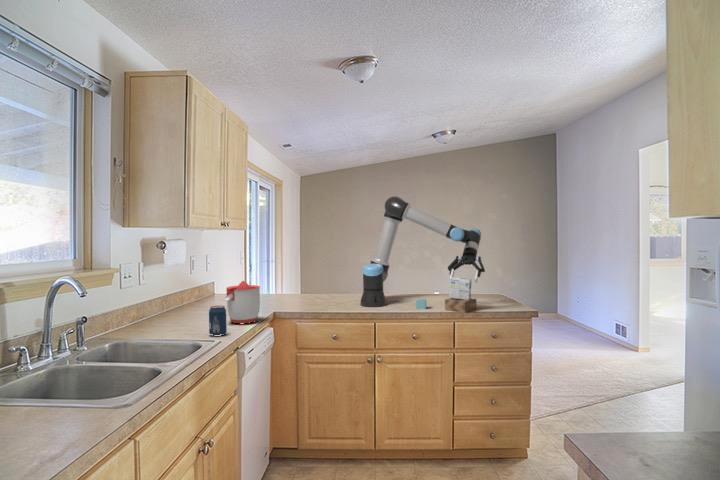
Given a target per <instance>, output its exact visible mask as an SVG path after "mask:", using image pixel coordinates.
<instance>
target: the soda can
mask: <svg viewBox="0 0 720 480" xmlns="http://www.w3.org/2000/svg"><path fill="white" fill-rule="evenodd" d="M227 329H228V328H227V309H226V308H225V305H213V306H210V308H209V310H208V332H209V335H210V334H213V335H220V334H225V333H226V334H227ZM226 334H225V335H226Z"/></svg>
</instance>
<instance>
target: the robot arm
mask: <svg viewBox="0 0 720 480" xmlns="http://www.w3.org/2000/svg"><path fill="white" fill-rule="evenodd" d="M383 218H384V223H383V226H382V230H381V234H380V237H379V241H378V245H377V248H376V251H375V254H374V258H371V259H370V263H367V264H365V265H363V267H362V281H363V282H362V283H363V285H362V288H363V291H362V295H361V299H360V303H359V304H360V306H361V305H362V307H367V308H368V307H369V308H370V307H371V308H379V307H384V306H387V298H386V296H385V293H384V282H386V280H387V279H388V276H389V268H390V262H389V260H390V256H391V252H392V249H393V245H394V241H395V239H396V236H397V235H396V234H397V232H398V227H399V226H400V224H401V223H402V222H403V220H408V221H410V222H413V223H415V224H417V225H419V226H421V227H423V228H426V229H428V230H431V231H433V232H435V233H437V234H440V235H442V236H443V237H445V238H447V239H450V240H452V241H454V242H460V243H464V244H465V245H464V247H463V252H462V256H459V255H456V257H455V259H453V261H452V262H451V263H450V264H449V265H448V266H447V270H448V272H449V279H450V278H452V277H454V275H455V271H456V270H457V269H459V268H460V267H462V266H464V265H466V266H468V265H469V266H470V265H472V266H473V267H474V268H475V270H476V271H475V272H476V273H475V276H474V282H475V283H476V284H477V283H478V279H479V278H480V277H481V274H482V273H485V271H486V270H485V267H484V264H483V263H482V258H481V256H479V255H478V257H477V254H478V250H479V246H480V243H481V237H482V232H481V230H480V229H478V228H476V227H475V228H472V227H471V228H470V229H469V230H467V229H464V228H461V227H458V226H457V225H456V226H455V225H454V224H451V223H450V222H447V221H445V220H443V219H440V218H438V217H435V216H433V215H431V214H429V213H427V212H425V211H422V210H420V209H418V208H416V207H414V206H411V204H410V203H409V202H406V201H405V200H404V199H402V198H401V197H399V196H396V195H395V196H394V195H393V196H390V197H388V198H387V199H386V200H385V202H384V214H383ZM476 261H477V262H478V264H479V265H478V264H477V263H476Z"/></svg>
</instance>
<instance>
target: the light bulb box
mask: <svg viewBox="0 0 720 480" xmlns="http://www.w3.org/2000/svg"><path fill="white" fill-rule="evenodd" d="M448 297H449V298H448V299H450V298H455V299H464V300H469V299H470V298H471V299H472V278H464V277H463V278H462V277H454V276H453V277H452V278H450V277H449V296H448Z"/></svg>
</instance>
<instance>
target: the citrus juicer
mask: <svg viewBox="0 0 720 480" xmlns="http://www.w3.org/2000/svg"><path fill="white" fill-rule="evenodd" d="M260 289H261V286H260V285H255V284H251V285H250V284H249V283H247V281H245V280H242V281H241V282H240V283H239V284H238V285H233V286H227V287H226V296H225V297H223V298H224V301H226V302H227V303H226V307H227V314H228V316H229V317H228V318H229V320H230V323H232V322H233V323H232V324H234V323H248V324H250V323H249V322H253V323H255V322H254V321H256V320H257V321H258V319H259V314H260V308H261V307H260V306H261V300H260V299H261V298H260V297H261V294H260V293H261V291H260ZM257 321H256V322H257Z"/></svg>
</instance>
